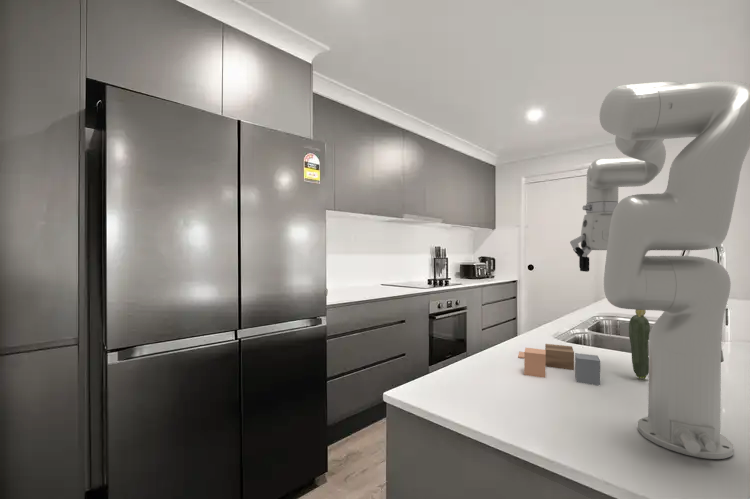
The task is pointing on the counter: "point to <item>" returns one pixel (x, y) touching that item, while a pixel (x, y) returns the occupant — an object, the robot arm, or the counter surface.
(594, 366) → the slate cube
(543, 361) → the terracotta cube
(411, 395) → the counter surface
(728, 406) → the counter surface
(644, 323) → the vegetable
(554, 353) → the base block
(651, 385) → the robot arm
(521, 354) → the tile
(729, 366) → the counter surface
